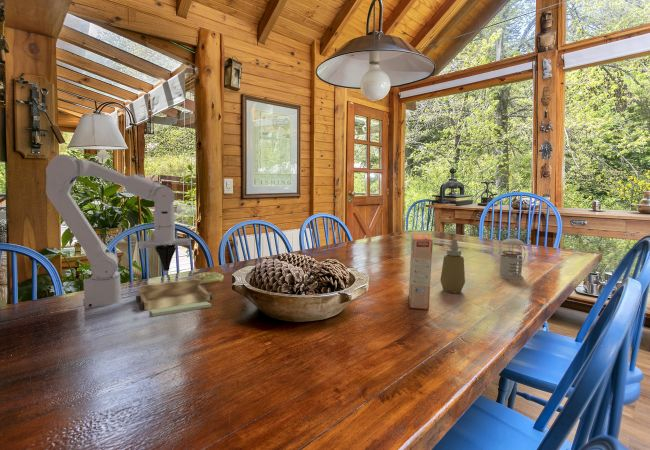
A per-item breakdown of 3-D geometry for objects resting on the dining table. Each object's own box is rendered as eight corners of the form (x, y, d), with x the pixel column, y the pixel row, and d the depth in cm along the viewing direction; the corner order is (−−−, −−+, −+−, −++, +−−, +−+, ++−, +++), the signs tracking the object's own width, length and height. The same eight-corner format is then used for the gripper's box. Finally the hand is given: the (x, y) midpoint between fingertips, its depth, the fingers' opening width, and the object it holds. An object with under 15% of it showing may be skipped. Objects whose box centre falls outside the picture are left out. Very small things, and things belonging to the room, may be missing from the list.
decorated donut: (196, 290, 130) (196, 279, 130) (190, 282, 139) (189, 272, 139) (227, 286, 136) (227, 275, 135) (219, 279, 145) (218, 269, 144)
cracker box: (430, 310, 112) (433, 239, 110) (409, 309, 113) (411, 238, 111) (427, 296, 126) (430, 232, 123) (408, 295, 127) (410, 232, 125)
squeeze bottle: (461, 288, 136) (464, 237, 134) (467, 295, 128) (470, 241, 126) (437, 287, 137) (440, 237, 134) (442, 294, 129) (444, 240, 126)
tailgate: (150, 315, 105) (153, 318, 100) (149, 310, 105) (152, 313, 100) (206, 306, 113) (211, 308, 109) (206, 301, 113) (211, 304, 109)
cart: (140, 316, 105) (140, 296, 104) (135, 304, 114) (134, 286, 114) (213, 304, 115) (212, 286, 114) (202, 294, 125) (202, 278, 124)
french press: (491, 274, 156) (495, 213, 153) (511, 272, 161) (515, 212, 158) (512, 280, 147) (516, 215, 144) (532, 277, 152) (537, 214, 149)
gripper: (139, 228, 109) (141, 275, 111) (192, 226, 117) (193, 269, 118) (136, 226, 115) (138, 270, 117) (187, 223, 123) (188, 265, 124)
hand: (166, 270), depth 118 cm, fingers closed
